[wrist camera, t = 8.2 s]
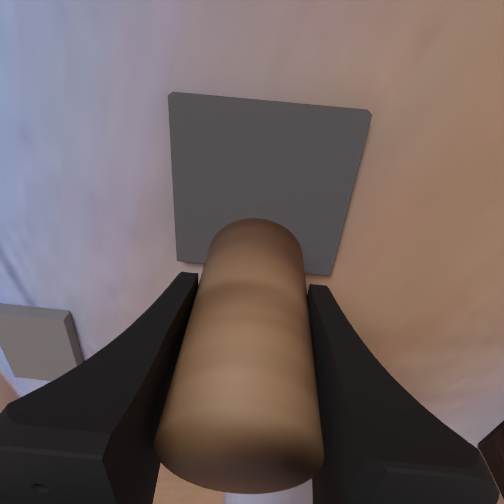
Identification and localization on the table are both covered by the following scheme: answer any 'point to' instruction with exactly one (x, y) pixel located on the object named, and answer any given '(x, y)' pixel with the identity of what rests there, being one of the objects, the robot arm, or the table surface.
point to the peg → (245, 370)
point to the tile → (38, 341)
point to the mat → (263, 170)
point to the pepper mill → (495, 454)
